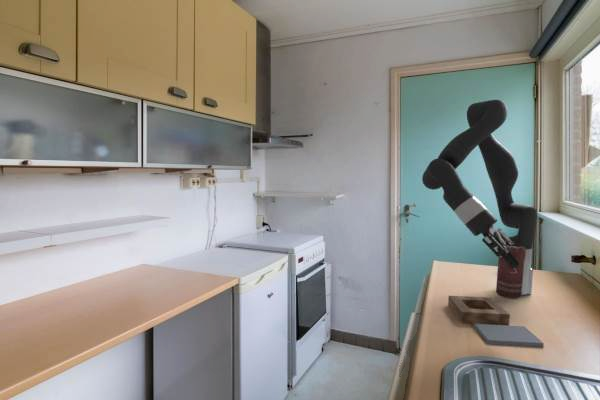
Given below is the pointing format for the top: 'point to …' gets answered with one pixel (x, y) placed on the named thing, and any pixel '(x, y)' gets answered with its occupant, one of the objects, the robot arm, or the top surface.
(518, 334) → the mat
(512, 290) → the can
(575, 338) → the top surface
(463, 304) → the box
